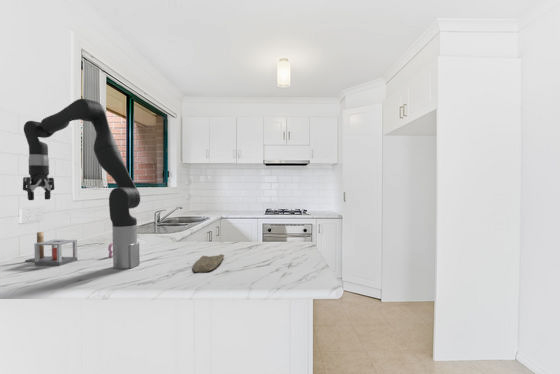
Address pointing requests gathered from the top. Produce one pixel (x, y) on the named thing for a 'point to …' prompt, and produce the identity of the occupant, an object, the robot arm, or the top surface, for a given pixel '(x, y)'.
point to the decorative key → (110, 250)
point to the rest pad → (34, 259)
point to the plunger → (54, 253)
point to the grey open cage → (60, 259)
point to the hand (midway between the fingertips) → (39, 199)
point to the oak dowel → (41, 247)
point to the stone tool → (207, 263)
